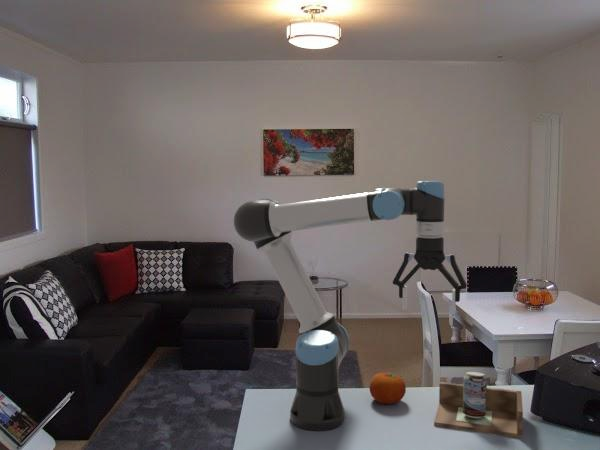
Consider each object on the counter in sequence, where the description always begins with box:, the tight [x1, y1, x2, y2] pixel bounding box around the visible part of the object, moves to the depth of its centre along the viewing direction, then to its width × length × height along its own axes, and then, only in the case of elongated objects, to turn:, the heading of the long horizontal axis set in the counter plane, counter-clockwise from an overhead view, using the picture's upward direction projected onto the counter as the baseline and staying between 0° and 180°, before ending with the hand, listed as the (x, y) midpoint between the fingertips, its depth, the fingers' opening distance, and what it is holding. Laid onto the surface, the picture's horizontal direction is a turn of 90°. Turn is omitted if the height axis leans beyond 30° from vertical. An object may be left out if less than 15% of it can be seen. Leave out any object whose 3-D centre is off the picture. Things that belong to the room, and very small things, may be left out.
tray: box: [433, 381, 524, 439], centre depth 153 cm, size 22×14×7 cm, turn 70°
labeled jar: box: [462, 371, 488, 418], centre depth 153 cm, size 6×7×12 cm
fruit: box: [369, 372, 407, 405], centre depth 166 cm, size 11×10×8 cm
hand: (428, 311), depth 158 cm, fingers open, 13 cm apart
